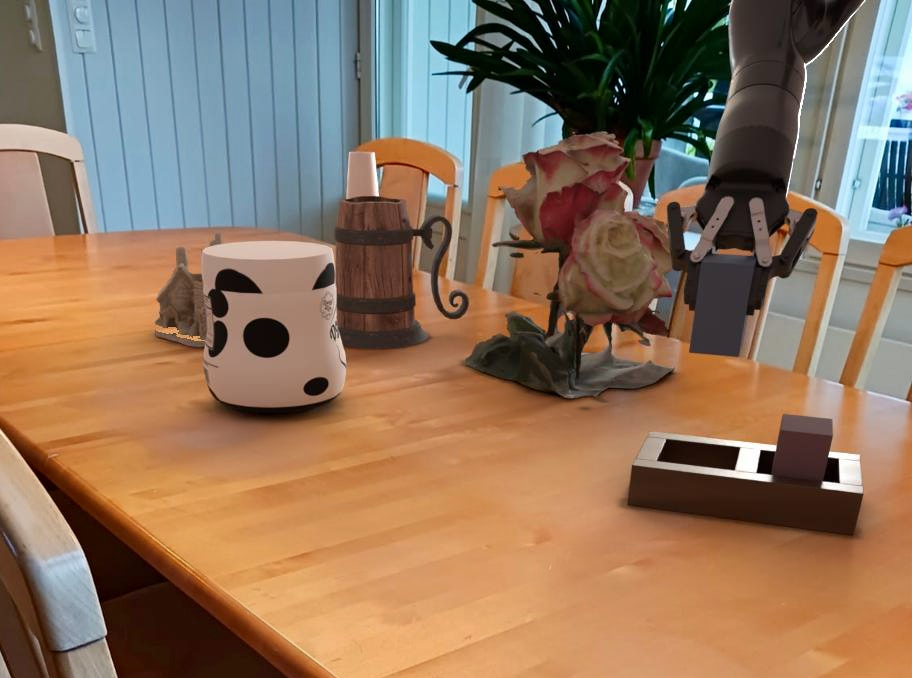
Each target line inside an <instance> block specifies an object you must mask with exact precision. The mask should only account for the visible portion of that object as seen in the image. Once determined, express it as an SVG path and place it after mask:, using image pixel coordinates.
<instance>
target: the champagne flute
mask: <svg viewBox="0 0 912 678" xmlns="http://www.w3.org/2000/svg"><path fill="white" fill-rule="evenodd" d="M346 179H347V180H346V197H345V199H349V198H353V197H357V196H380V195H379V193H380V192H379V185H378V184H379V182H378V174H377V163H376V153H375V152H374V151H349V152H348V162H347V178H346Z"/></svg>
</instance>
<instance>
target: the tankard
mask: <svg viewBox="0 0 912 678" xmlns="http://www.w3.org/2000/svg"><path fill="white" fill-rule="evenodd" d="M437 222H441V223H442V224H443V226H444V234H443V238H442V241H441V244H440V246H439V247H438V250H437V251H436V253H435V255H434V258H433V261H432V264H431V271H430V287H431V288H430V289H431V294H432V298H433V301H434V305H435V306H436V308H437V311H439V312H440V313H441V314H442V315H443V316H444V317H445V318H447V319H449V320H458V319H461V318H462V317H463V316H465V314H466V313H467V312H468V309H469V306H470V298H469V296H468V295H467V294H466V293H465V292H464V291H462V290H461V289H454V290H452V291H451V292H450V293H449V295H448V302H449V304H450V306H451V307H452V308H458V307H459V308H458V309H457V310H455V311H449V310H446V309H445V307H444V305H443V303H442V299H441V296H440V291H439V290H440V289H439V274H440V273H439V272H440V267H441V264H442V262H443V259H444V257H445V255H446V254H447V251H448V249H449V247H450V245H451V242H452V239H453V227H452V223H451V221H450V220H448V218H447V217H445V216H443V215H441V214H433V215H431V216H427V218H425V220H423V222H422V224H421V226H420V227H419V228H413V226H411V219H410V214H409V208H408V202H407V200H406V199H403V198H390V197H385V196H380V195H379V196H357V197H353V198H349V199H346V198H341V199H339V201H338V209H337V215H336V225H335V226H333V229H334V230H333V239H334V240H335V284H336V295H337V300H336V307H337V324H338V330H339V334H340V337H341V341H342V344H343V347H350V348H359V349H391V348H392V349H393V348H402V347H409V346H414V345H417V344H421V343H422V342H425V341H426V340H427V339H428V338H429V335H428V334H427V332H425V330H424V329H423V327H422V324H421V323H420V322H419V321H418V320H417V319H416V317H415V307H416V305H417V303H416V301H417V300H416V292H415V291H414V272H413V271H414V270H413V269H414V268H413V240H414V237H419V238H421V241H422V243H423V244H424V245H425V246H426V248H428V249H429V250H433V249H434V246H435V245H434V244H433V241H432V238H433V228H432V226H433V225H434V224H435V223H437ZM457 297H461V305H460V306H459V303H458V302H456V303H454V300H455V299H456V298H457Z"/></svg>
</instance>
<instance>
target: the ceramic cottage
mask: <svg viewBox="0 0 912 678" xmlns="http://www.w3.org/2000/svg"><path fill="white" fill-rule="evenodd" d="M219 244H224V243H223V238H222V234H221V233H220V232H215V233H214V239H213V240H210V242H209V245H208V247H210V246H214V245H219ZM204 249H205V248H201V249H200V255H201V256H202V251H203V250H204ZM201 256H200V257H201ZM175 262H176V267H175V268H174V269H173V271H172V274H171V276H170V278H169V280H168V281H167V282H166V284H165V285H164V286H163V287H162V288H161V290H160V291H159V292H158V293H157V297H156V299H155V300H156V302H158V304H159V311H158V314H159V317H158V318H157V319H156V320H155V321H154V325H155V324H156V325H159V326H162V327H163V328H168V327H176V328H177V330H179V332H178V334H181V335H189V337H190V336H191V337H192V338H193V336H200V338H198V339H201V340H205V341H206V336H207V317H206V309H205V302H204V294H203V285H204V284H203V280H202V273H193V272H192V271H190V270H189V261H188V253H187V248H186V247H185V246H177V247H175ZM154 335H155V336H156V337H157V338H161V339H166V340H168V341H172V342H176V343H180V344H181V345H185V346H189V347H194V348H195V347H196V348H205V341H194V340H191V339H187V338H180V337H177V336H176V335H177V334H176V333H173V334H170V333H169V334H166V333H162V332H158V331H156V330H155V329H154Z"/></svg>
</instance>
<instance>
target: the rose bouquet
mask: <svg viewBox="0 0 912 678" xmlns="http://www.w3.org/2000/svg"><path fill="white" fill-rule="evenodd" d="M571 133H573V135H572V136H569V137H568V138H564V139H561V140H558V142H557V144H553V145H550V146H547V147H544V148H540V149H537V150H536V151H527V152H526V153H524V154H521V157H522V160H523V162H524V165H525V171H527V172H528V173H529V175H530V177H529V178H528V179H527V180H526V181H525V182H526V183H525V184H524V185H523V186H522V187H520V189H516V188H515V187H514V186H511V187H505V186H501V185H500V186H499V185H498V186H497V189H498V191H502V192H503V195H504V196H505V199H506V200H507V202H508V204H509V207H510V208H512V209H514V214H515V216H516V218H517V219H518V221H519V222H520V224H521V226H523V228H524V230H526V232H527V233H528V234H529V235H530V236H531V237H532V239H515V240H514V239H513V240H511V239H510V240H500V241H496V242H493V243H491V246H492V247H493V248H501V247H506V248H514V249H520V250H527V251H537V250H541V251H540V254H549V253H550V254H553V253H555V254H558V258H557V261H558V271H557V280H556V282H555V284H554V285H553V290H552V291H550V292H548V293H547V294H546V297H545V298H546V300H548V301H550V303H549V314H548V322H547V323H548V327H547V331H546V330H545V329H544V328H542V327H541V326H539V325H538V324H536V323H535V321H534V319H533V318H532V317H529V316H525V315H523V314H520V313H519V312H518V311H516V310H514V311H513V310H511V311H510V312H508V313H504V317H505V318H506V321H507V324H506V330H507V332H508V333H509V336H508V335H505V334H502V333H501V332H499V333H497V334H494V335H492V337H490V338H488V339H486V340H484V341H479V342H478V343H476V344H475V345H474V348H473V349H472V352H471V354H470V355H468V356H467V357H466V358H465V365H466V366H468V367H471V368H472V369H475V370H476V371H479V372H482V373H483V374H488V375H491V376H494V377H497V378H498V379H501V380H504V381H506V380H510V381H517V382H518V383H519V384H521V385H523V386H525V387H528V388H530V389H533V390H537V391H539V392H544V393H552V394H553V393H554V394H557V395H560V396H562V397H563V398H565V399H578V398H581V397H591V396H593V397H594V398H596V399H599V400H604V399H602V398H600V397H598V396H599V395H600V394H601V393H602V392H603V391H605V390H607V389H608V388H613V389H614V388H616V389H635V390H636V389H639V388H643V387H645V386H649V385H652V384H654V383H657V381H659V380H660V379H661V378H663V377H664V376H666V375H668V373H671V372H674V371H675V369H676V367H675V366H663V365H661V364H659V363H655V362H654V361H652V360H648V361H646V362H638V361H633V360H627V359H621V358H618V357H617V356H616V355H615V354H613V344H612V343H613V342H612V341H613V335H612V333H613V324H617V326H618V328H619V330H620V332H621V333H623V332H626V331H631V332H633V333H634V334H636V335H638V336H639V337H640V338H641V339H639V340H637V342H638V343H639V344H640V345H643V346H645V347H651V342H650V339H649V338H647V337H646V336H645V335H644V333H645V334H647V335H651V336H657V335H660V334H662V333H663V332H664V331H665V330H666V324H667V322H666V321H665V320H664V319H662V318H660V317H659V316H657V315H656V314H655V313H657V314H659V315H660V314H661V311H659V310H654V309H652V308H651V307H650V305H651V304H652V302H653V301H654V300H655V299H656V300H658V299H663V298H670V299H671V298H673V291H672V288H671V286H670V283H669V280H668V279H667V278H666V277H664V276H665V275H667V274H669V273H670V272H671V271H672V270H673V269H672V263H671V255H670V246H669V238H668V229H667V224H665V222H664V221H661V220H659V219H656V218H653V217H651V216H648V215H643V214H642V213H641V214H640V212H639V211H637V210H628V211H627V210H626V209H625V202H626V200H627V197H628V196H629V192H628V191H627V190H626V189H625V188H624V187H622V186H621V185H620V184H619V183H620V181H621V177H622V174H623V173H624V171H625V170H626V169H627V168H628V166H629V165H630V163H631V162H632V159H631V158H628V157H624V156H621V155H620V154H622V153H624V152H625V151H624V148H623V147H621V146H619V144H620V143H619V141H618V140H615V139H616V134H614V133H608V132H607V131H596V132H592V133H585V134H576V132H575V131H572V132H571ZM536 254H538V251H537V252H535V253H534V255H536ZM509 256H510V258H515V259H523V258H525V254H524V253H523V252H518V251H517V252H511V253H510V254H509ZM449 260H450V262H452V258H450V259H449ZM532 294H533V295H537V296H540V297H542V295H541V294H540V293H538V292H533V293H532ZM569 312H572V314H573V319H570V317H569V316H568V313H569ZM563 316H564V319H565V322H563V328H564V331H561V330H559V327H558V322H559V319H560V318H561V317H563ZM542 325H543V322H542ZM598 325H599V326H600V325H602V328H603V332H604V334H605V335H606V336H605V337H606V338H607V341H608V345H607V347H606V348H605V349H604V350H602V351H598V352H583V350H584V348H585V345H586V344H587V343H588V342H589V339H590V337H591V335H592V333H593V331H594V329H595V327H596V326H598Z"/></svg>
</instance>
